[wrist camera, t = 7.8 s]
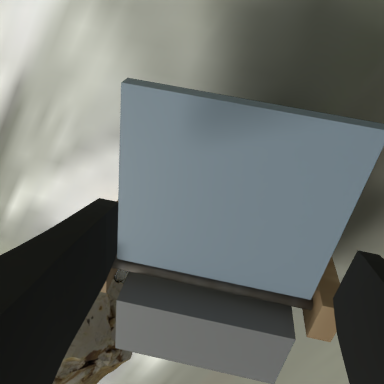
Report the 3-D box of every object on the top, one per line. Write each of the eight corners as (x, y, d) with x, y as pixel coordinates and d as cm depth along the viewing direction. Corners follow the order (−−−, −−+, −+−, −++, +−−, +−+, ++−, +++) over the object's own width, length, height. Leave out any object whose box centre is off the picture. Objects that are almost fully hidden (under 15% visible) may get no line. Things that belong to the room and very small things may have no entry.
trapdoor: (372, 112, 14) (405, 146, 11) (278, 330, 22) (283, 386, 19) (138, 70, 15) (107, 92, 12) (126, 297, 22) (106, 346, 19)
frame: (323, 227, 22) (348, 311, 16) (298, 284, 24) (312, 372, 19) (125, 188, 22) (82, 254, 17) (123, 247, 25) (85, 322, 19)
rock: (132, 259, 24) (29, 409, 17) (163, 312, 28) (88, 452, 21) (24, 239, 30) (-81, 345, 23) (62, 285, 34) (-20, 387, 27)
